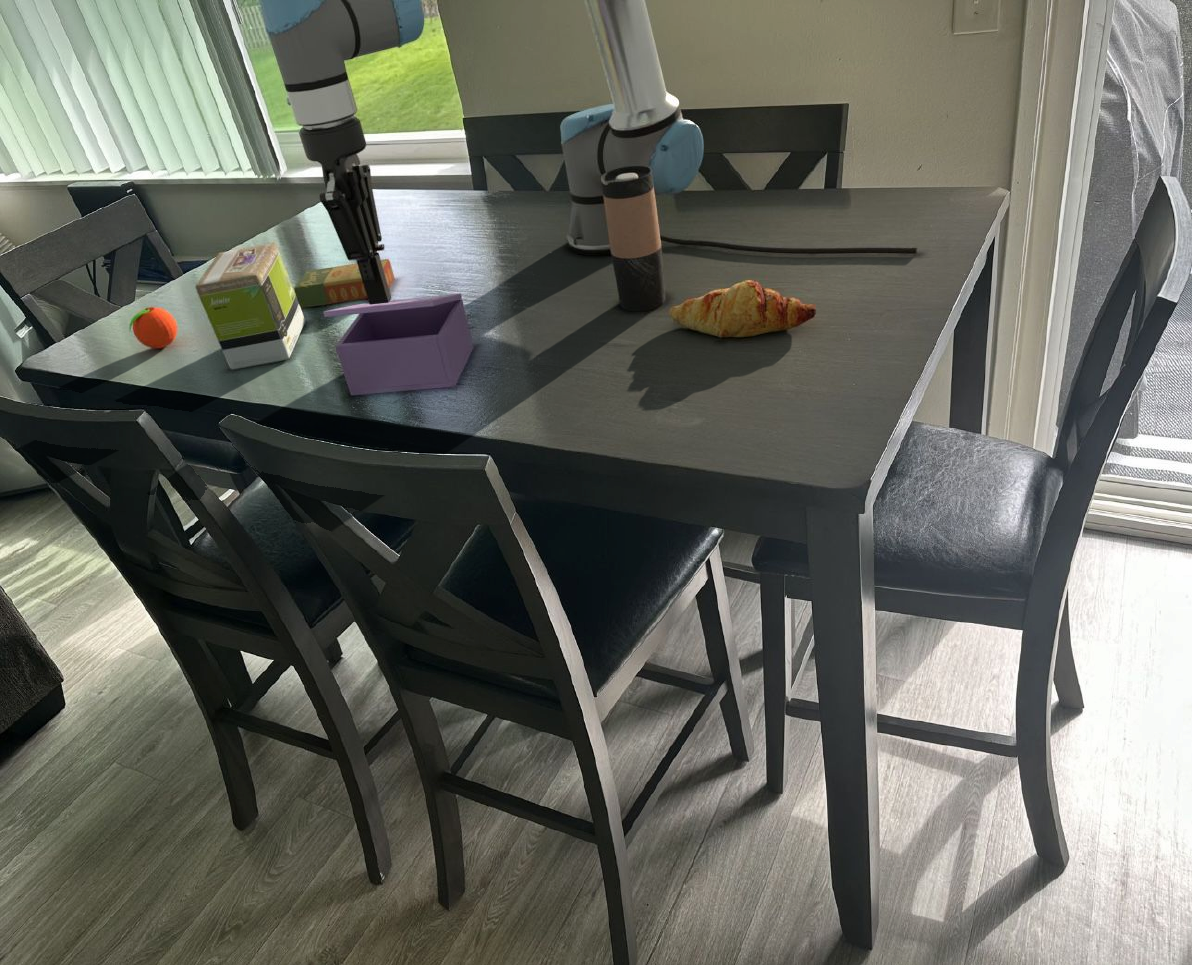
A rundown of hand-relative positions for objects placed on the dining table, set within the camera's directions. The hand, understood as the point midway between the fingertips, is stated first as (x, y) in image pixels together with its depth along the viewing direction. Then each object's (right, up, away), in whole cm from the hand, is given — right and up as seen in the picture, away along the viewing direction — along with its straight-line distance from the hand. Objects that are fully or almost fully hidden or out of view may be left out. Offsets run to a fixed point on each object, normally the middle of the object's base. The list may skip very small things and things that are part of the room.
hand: (380, 301), depth 127 cm
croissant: (+50, -2, +7) cm, 51 cm away
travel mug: (+37, +4, +19) cm, 42 cm away
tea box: (-25, -2, +27) cm, 37 cm away
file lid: (+1, 0, +5) cm, 5 cm away
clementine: (-46, -1, +34) cm, 57 cm away
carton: (-16, +9, +43) cm, 46 cm away
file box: (+2, -8, +11) cm, 14 cm away
